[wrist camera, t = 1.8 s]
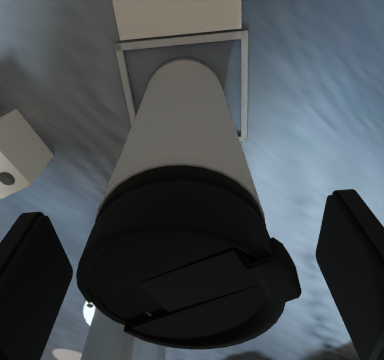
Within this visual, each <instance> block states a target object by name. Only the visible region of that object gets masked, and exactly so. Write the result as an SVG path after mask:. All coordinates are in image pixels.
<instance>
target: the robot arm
mask: <svg viewBox="0 0 384 360" xmlns="http://www.w3.org/2000/svg"><path fill="white" fill-rule="evenodd" d="M316 259H317V263H318V265H319V267H320V270H321V272H322V274H323V276H324V279H325V281H326V283H327V285H328V288H329V290H330V292H331V294H332V297H333V299H334V301H335V304H336V306H337V308H338V310H339V313H340V315H341V317H342V319H343V322H344V324H345V326H346V328H347V331H348V333H349V335H350V337H351V340H352V342H353V344H354V346H355V349H356V351H357V353H358V356H359V358H360V360H384V227H383V226H382V224H381V223H380V222H379V220H378V219H377V218H376V217H375V215H374V214H373V213H372V211H371V210H370V209H369V207H368V206H367V205H366V204H365V202H364V201H363V200H362V198H361V197H360V196H359V194H358V193H357V192H356V191H355V190H353V189H348V190H336V191H334V192H333V194H332V195H329V196H328V197H327V200H326V205H325V210H324V215H323V220H322V225H321V230H320V234H319V239H318V244H317V249H316ZM72 276H73V269H72V266H71V264H70V262H69V260H68V257H67V255H66V253H65V251H64V249H63V247H62V245H61V242H60V240H59V238H58V236H57V234H56V232H55V230H54V227H53V225H52V223H51V221H50V219H49V217H48V216H44V214H43V213H42V212H31V213H23V214H21V215H20V216H19V217H18V219H17V220H16V222H15V223H14V224H13V226H12V227H11V229H10V230H9V231H8V233H7V234H6V236H5V237H4V239H3V240H2V241H1V243H0V360H40V359H41V356H42V354H43V351H44V348H45V346H46V343H47V341H48V338H49V336H50V333H51V331H52V328H53V325H54V323H55V320H56V318H57V315H58V313H59V310H60V307H61V305H62V302H63V300H64V297H65V295H66V292H67V290H68V287H69V284H70V282H71V279H72ZM83 316H84V318H85V320H86V322H87V323H88V324H89V325H90V329H89V332H88V336H87V339H86V343H85V346H84V350H83V353H82V357H81V360H165V352H166V346H161V345H156V344H153V343H149V342H145V341H142V340H140V339H138V338H136V337H134V336H132V335H130V334H128V333H125V332H124V326H125V325H122V324H119V323H116V322H114V321H113V320H111V319H110V318H108V317H107V316H105V315H104V314H103V313H101V312H100V311H99V310H98V309H97V308H96V307H95V306H94V305H93V304H92V303H88V302H87V301H86V299H85V302H84V305H83Z"/></svg>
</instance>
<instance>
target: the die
mask: <svg viewBox="0 0 384 360" xmlns="http://www.w3.org/2000/svg"><path fill="white" fill-rule="evenodd" d="M53 157H54V155H53V153H52V152H51V151H50V150H49V148H48V147H47V146H46V145H45V143H44V142H43V141H42V140H41V139H40V137H39V136H38V135H37V134H36V132H35V131H34V130H33V129H32V127H31V126H30V125H29V124H28V122H27V121H26V120H25V119H24V118H23V116H22V115H21V114H20V113H19V111H18V110H17V109H15V110H13V111H11V112H9V113H7V114H5V115H3V116H1V117H0V199H2V198H4V197H6V196H9V195H11V194H13V193H15V192H17V191H20V190H22V189H24V188H26V187H28V186H31V185H32V184H33V182H34V181H35V180H36V179H37V177H38V176H39V175H40V173H41V172H42V171H43V170H44V168H45V167H46V166H47V165H48V163H49V162H50V161H51V159H52V158H53Z"/></svg>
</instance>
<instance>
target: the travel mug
mask: <svg viewBox="0 0 384 360" xmlns="http://www.w3.org/2000/svg"><path fill="white" fill-rule="evenodd" d="M76 277H77V286H78V288H79V290H80V291H81V293H82V294H83V296H84V297H85V299H86V301H87V302H88V303H92V304H93V305H94V306H95V307H96V308H97V309H98V310H99V311H100V312H101V313H103V314H104V315H105V316H107V317H108V318H110V319H111V320H113V321H114V322H116V323H119V324H122V325H125V326H124V332H125V333H128V334H130V335H132V336H134V337H136V338H138V339H140V340H142V341H145V342H149V343H153V344H156V345H161V346H166V347H172V348H181V349H215V348H223V347H228V346H233V345H237V344H241V343H243V342H246V341H249V340H251V339H254V338H256V337H257V336H259V335H261V334H263V333H264V332H266V331H267V330H268V329H270V328H271V327H272V326H273V325H274V324H275V323H276V322H277V320H278V319H279V317H280V316H281V314H282V313H283V310H284V306H285V303H286V302H287V301H290V300H293V299H296V298H299V296H300V295H301V287H300V283H299V279H298V275H297V270H296V266H295V264H294V262H293V260H292V258H291V256H290V255H289V253H288V252H287V250H286V249H285V247H284V246H283V244H282V243H281V242H279V241H278V240H276V239H275V238H274V237H273V238H270V236H269V234H268V231H267V229H266V224H265V218H264V213H263V210H262V207H261V205H260V201H259V198H258V195H257V192H256V189H255V186H254V183H253V180H252V177H251V174H250V171H249V168H248V164H247V161H246V158H245V155H244V152H243V149H242V146H241V143H240V140H239V137H238V134H237V131H236V128H235V125H234V122H233V119H232V116H231V113H230V110H229V107H228V104H227V101H226V98H225V95H224V92H223V89H222V86H221V84H220V81H219V79H218V77H217V75H216V74H215V72H214V71H213V70H212V69H211V68H210V67H209V66H207V65H206V64H204V63H203V62H201V61H198V60H196V59H191V58H177V59H173V60H170V61H168V62H166V63H164V64H163V65H162V66H160V67H159V68H158V69H157V70H156V71H155V72H154V74H153V75H152V77H151V79H150V81H149V83H148V86H147V88H146V91H145V93H144V96H143V98H142V101H141V103H140V106H139V108H138V111H137V113H136V116H135V118H134V121H133V123H132V126H131V128H130V131H129V133H128V136H127V138H126V141H125V143H124V146H123V148H122V151H121V153H120V156H119V158H118V161H117V163H116V166H115V168H114V171H113V173H112V176H111V178H110V181H109V183H108V186H107V188H106V191H105V193H104V197H103V199H102V201H101V203H100V206H99V209H98V213H97V217H96V222H95V225H94V227H93V228H92V231H91V233H90V236H89V238H88V241H87V244H86V246H85V249H84V251H83V254H82V256H81V259H80V261H79V265H78V269H77V274H76Z"/></svg>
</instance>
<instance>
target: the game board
mask: <svg viewBox="0 0 384 360" xmlns="http://www.w3.org/2000/svg"><path fill="white" fill-rule="evenodd" d="M112 2H113V7H114V12H115V17H116V22H117V27H118V32H119V37H120V40H130V39H140V38H150V37H160V36H170V35H180V34H191V33H201V32H211V31H221V30H231V29H241V5H242V0H112ZM235 39H241V135H238V137H239V140H240V142H247V100H248V30H244V31H234V32H223V33H213V34H203V35H193V36H183V37H173V38H162V39H152V40H142V41H132V42H122V43H115V44H114V46H115V50H116V55H117V60H118V65H119V70H120V74H121V79H122V84H123V89H124V93H125V98H126V103H127V108H128V112H129V117H130V122H131V126H132V123H133V121H134V118H135V116H136V112H135V107H134V102H133V97H132V92H131V87H130V82H129V77H128V72H127V67H126V62H125V57H124V52H123V50H132V49H143V48H153V47H163V46H174V45H184V44H194V43H204V42H215V41H225V40H235Z"/></svg>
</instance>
